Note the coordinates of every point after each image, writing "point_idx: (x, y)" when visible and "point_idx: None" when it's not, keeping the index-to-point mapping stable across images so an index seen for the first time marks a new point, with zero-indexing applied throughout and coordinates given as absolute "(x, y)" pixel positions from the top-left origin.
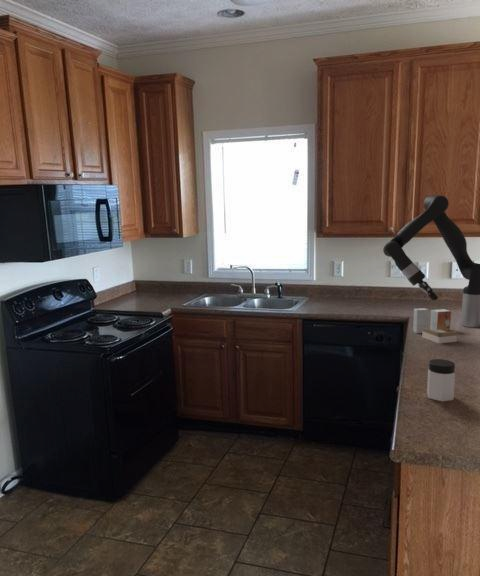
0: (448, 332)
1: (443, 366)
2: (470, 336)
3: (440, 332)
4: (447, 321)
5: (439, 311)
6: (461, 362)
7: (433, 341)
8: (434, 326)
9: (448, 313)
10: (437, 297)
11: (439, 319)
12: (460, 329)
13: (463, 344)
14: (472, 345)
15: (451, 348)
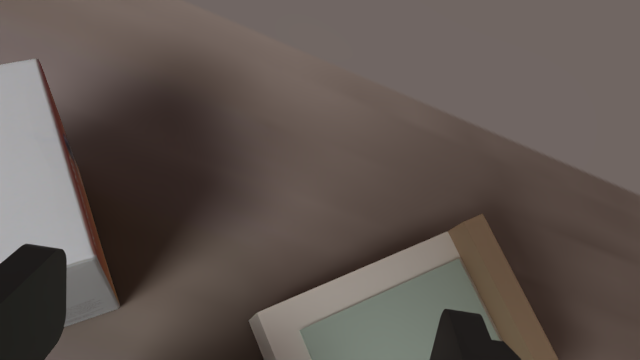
0: (526, 305)
1: None
2: (270, 71)
3: (407, 348)
4: (73, 157)
5: (61, 225)
6: None
7: None
8: (71, 316)
9: (55, 108)
10: (478, 327)
11: (101, 254)
12: (13, 47)
13: (510, 216)
14: (524, 164)
15: (634, 344)
